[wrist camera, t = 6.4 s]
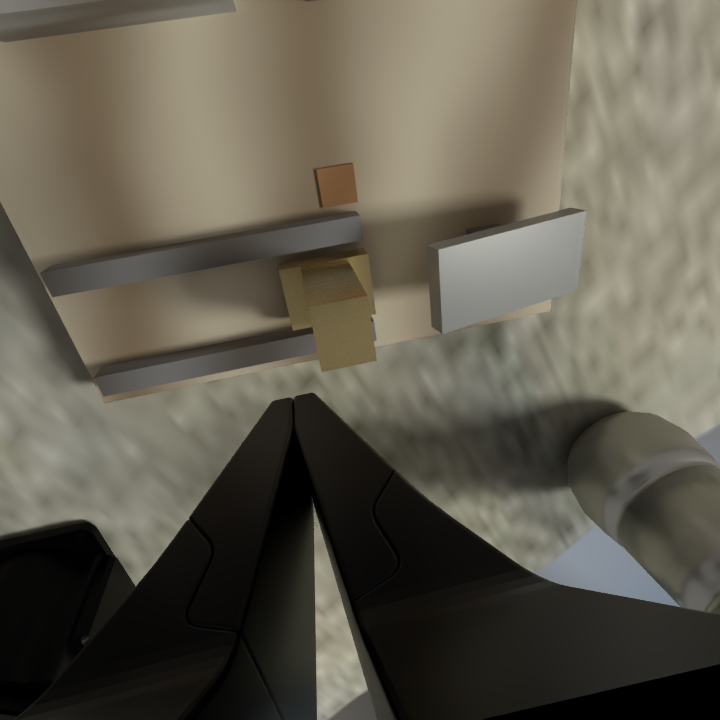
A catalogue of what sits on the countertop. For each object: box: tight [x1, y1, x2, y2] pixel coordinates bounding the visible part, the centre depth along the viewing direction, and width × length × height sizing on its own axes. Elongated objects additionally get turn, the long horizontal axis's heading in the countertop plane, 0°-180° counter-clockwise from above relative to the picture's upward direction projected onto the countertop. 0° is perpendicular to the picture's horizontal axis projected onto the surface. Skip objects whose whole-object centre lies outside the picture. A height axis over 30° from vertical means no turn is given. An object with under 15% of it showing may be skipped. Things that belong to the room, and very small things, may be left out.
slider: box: [278, 248, 377, 372], centre depth 14 cm, size 3×2×4 cm
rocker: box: [427, 208, 587, 334], centre depth 15 cm, size 6×3×1 cm, turn 97°
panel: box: [0, 0, 577, 403], centre depth 12 cm, size 18×18×4 cm
